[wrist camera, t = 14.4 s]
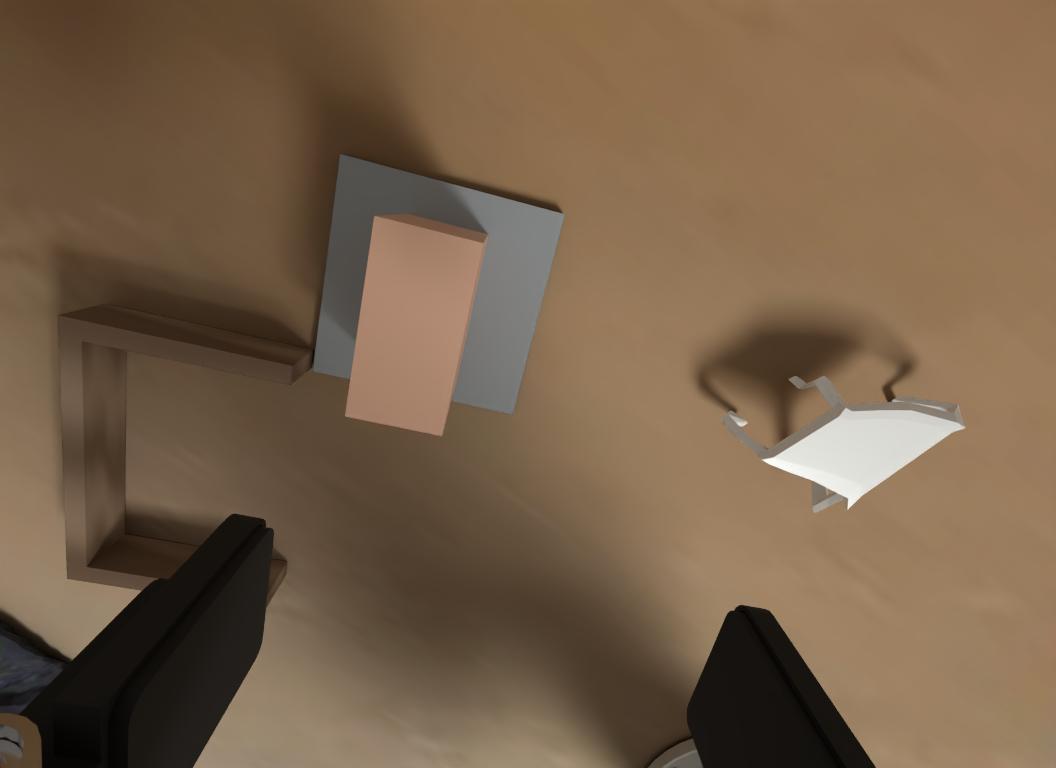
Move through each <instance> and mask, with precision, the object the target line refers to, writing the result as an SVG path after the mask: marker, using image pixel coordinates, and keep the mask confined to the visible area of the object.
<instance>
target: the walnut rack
mask: <svg viewBox="0 0 1056 768" xmlns="http://www.w3.org/2000/svg"><path fill="white" fill-rule="evenodd" d="M58 334H59V363H60V391H61V419H62V447H63V475H64V504H65V532H66V560H67V579H72V580H78V581H85V582H91V583H97V584H104V585H110V586H116V587H123V588H129V589H135V590H143V589H144V588H145V587H146V586H148V585H149V584H150V583H151V582H153V581H154V580H156V579H159V578H163V579H169V578H170V577H171V576H172V575H173V574H174V573H175V572H176V571H177V570H178V569H179V568H180V567H181V566H182V565H183V564H184V563H185V562H186V561H187V560H188V558H189V557H190V556H191V555H192V554H193V553H194V552H195V551H196V550H197V549H198V548H199V546H193V545H187V544H181V543H175V542H169V541H164V540H158V539H152V538H146V537H140V536H134V535H128V534H125V454H126V350H127V351H132V352H137V353H141V354H146V355H151V356H155V357H160V358H165V359H170V360H174V361H179V362H184V363H189V364H193V365H198V366H203V367H208V368H212V369H217V370H222V371H226V372H231V373H236V374H241V375H245V376H250V377H255V378H260V379H264V380H269V381H274V382H279V383H283V384H288V385H291V384H292V383H293V382H295V381H296V380H297V379H298V378H299V377H301V376H302V375H303V374H304V373H305V372H307V371H308V370H309V369H310V368H311V367H312V362H313V354H314V350H313V349H308V348H304V347H299V346H294V345H290V344H285V343H281V342H276V341H272V340H267V339H263V338H258V337H254V336H249V335H245V334H240V333H236V332H231V331H226V330H222V329H217V328H213V327H208V326H204V325H199V324H195V323H190V322H186V321H181V320H177V319H172V318H168V317H163V316H158V315H154V314H149V313H145V312H140V311H136V310H131V309H127V308H122V307H118V306H113V305H109V304H103V305H99V306H95V307H91V308H86V309H82V310H78V311H74V312H70V313H65V314H61V315H58ZM286 570H287V561H281V560H275V559H271V566H270V575H269V584H268V594H267V603H266V607H267V606H268V604H269V602H270V601H271V599H272V597H273V596H274V594H275V592H276V590H277V589H278V587H279V585H280V584H281V582H282V580H283V579H284V577H285V575H286Z"/></svg>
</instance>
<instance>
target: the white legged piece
mask: <svg viewBox="0 0 1056 768" xmlns="http://www.w3.org/2000/svg"><path fill="white" fill-rule="evenodd" d="M788 380H789V381H790V382H792V383H793V384H794V385H795V386H796V387H797V388H798V389H806V388H810V387H814V386H817V388H818V389H819V391H820V392H821V394H822V395H823V397H824V398H825V399H826V401H827V402H828V404H829V405H830V407H831V408H832V409H831V410H830V411H828V412H826V413H825V414H823V415H822V416H820V417H818V418H817V419H815V420H814V421H812V422H810V423H809V424H807V425H806V426H804V427H802V428H801V429H799V430H798V431H796V432H795V433H793V434H791V435H790V436H788V437H787V438H785V439H783V440H782V441H780V442H779V443H777V444H775V445H774V446H772V447H771V448H769V449H768V448H766V447H765V446H763V445H761V444H759V443H758V442H756V441H755V440H753V439H752V438H751V437H750V436H748V435H747V434H746V433H745V432H744V431H743V430H742V429H741V428H740V427H739V426H744V425H746V424H747V423H748V422H746V421H745V420H744V419H742V418H741V417H740V416H738V415H737V414H736V413H734V412H733V411H732V410H731V411H729V412H727V413H726V415H725V416H722V417H721V418H722V422H723V425H724V426H725V427H726V428H727V429H728V430H729V431H730V432H731V433H732V434H733V435H734V436H736V437H737V438H738V439H739V440H740V441H741V442H742V443H743V444H745V445H746V446H748V447H749V448H750V449H752V450H753V451H754V452H755V453H756V454H757V455H758V457H759V458H760V459H761V460H763V461H765V462H766V463H768V464H770V465H773V466H775V467H778V468H780V469H783V470H785V471H788V472H790V473H793V474H796V475H797V476H802V477H804V478H807V479H810V480H812V507H813V511H814V513H816V512H818V511H820V510H822V509H824V508H827V507H829V506H831V505H833V504H835V503H837V502H839V501H841V500H844V501H845V504H846V507H847V510H848V509H849V508H850V507H851V506H852V505H853V504H854V503H855V502H856V501H857V500H858V499H859V498H860V497H861V496H862V495H864V494H865V493H867V492H868V491H869V490H871V489H872V488H874V487H875V486H876V485H878V484H879V483H881V482H882V481H884V480H885V479H886V478H888V477H889V476H891V475H892V474H894V473H895V472H896V471H898V470H899V469H901V468H902V467H903V466H905V465H906V464H908V463H909V462H911V461H912V460H913V459H915V458H916V457H918V456H919V455H921V454H922V453H923V452H925V451H926V450H928V449H929V448H930V447H932V446H933V445H935V444H936V443H938V442H939V441H940V440H942V439H943V438H945V437H946V436H948V435H949V434H950V433H952V432H955V431H958V430H962V429H965V426H964V423H963V420H962V418H961V416H962V413H961V412H960V410H959V405H958V404H952V403H945V402H938V401H932V400H925V399H918V398H911V397H904V396H898V397H896V398H895V399H893V400H892V402H875V403H860V404H845V402H844V401H843V399H842V398H841V396H840V395H839V393H838V392H837V390H836V389H835V387H834V386H833V384H832V383H831V381H830V380H829V379H828V378H826V377H825V376H822V377H820V378H818V379H816V380H814V381H811V382H809V383H807V384H806V383H805V382H804V381H803V380H802V379H800V378H799V377H797V376H794V377H792V378H790V379H788ZM827 488H828V489H830V490H832V491H833V492H832V493H830V494H829V495H828V492H827Z"/></svg>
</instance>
